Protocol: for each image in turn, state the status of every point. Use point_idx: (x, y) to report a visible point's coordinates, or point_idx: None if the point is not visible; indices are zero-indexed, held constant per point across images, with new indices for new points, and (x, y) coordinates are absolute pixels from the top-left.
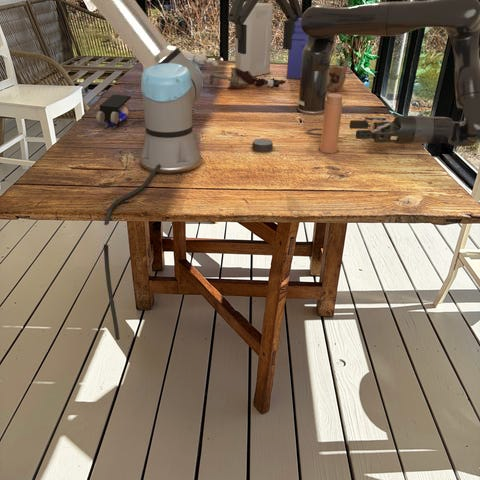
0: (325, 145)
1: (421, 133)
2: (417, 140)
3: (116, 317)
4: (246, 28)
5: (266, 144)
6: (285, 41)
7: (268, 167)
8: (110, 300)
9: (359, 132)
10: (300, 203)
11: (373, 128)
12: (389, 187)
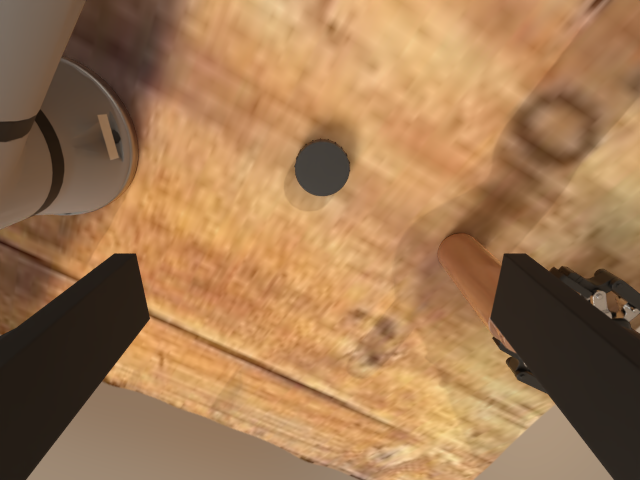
0: (444, 267)
1: None
2: None
3: None
4: (36, 463)
5: (320, 191)
6: (525, 306)
7: (271, 267)
8: None
9: (500, 344)
10: (240, 399)
11: None
12: (406, 419)
